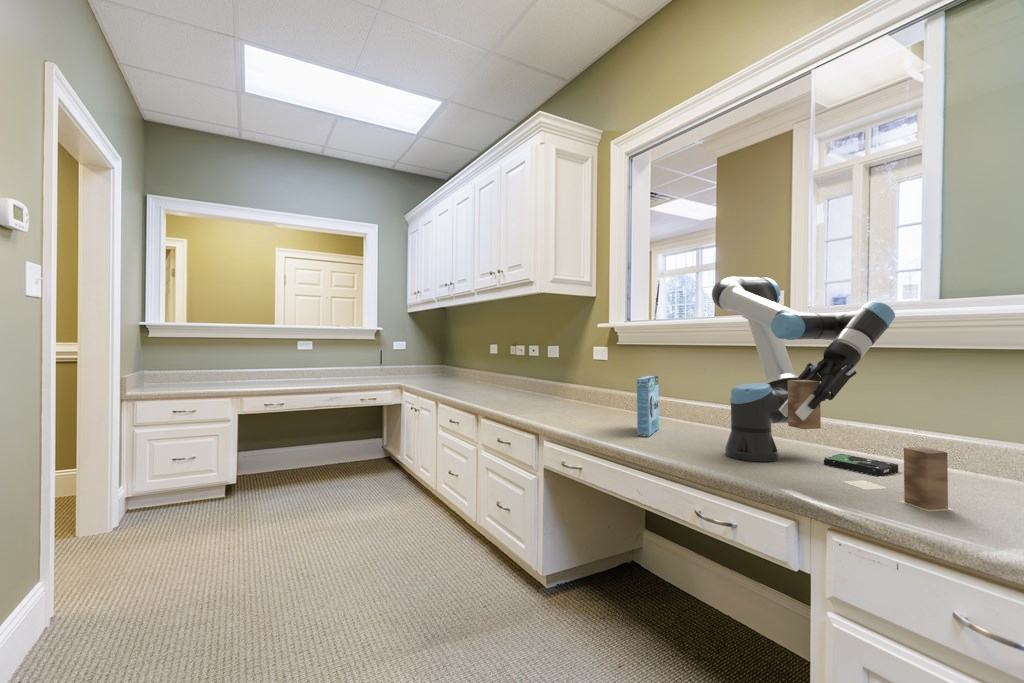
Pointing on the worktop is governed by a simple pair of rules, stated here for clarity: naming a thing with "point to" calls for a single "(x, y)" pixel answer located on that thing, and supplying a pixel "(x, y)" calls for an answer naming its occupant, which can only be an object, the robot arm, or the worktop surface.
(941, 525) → the worktop surface
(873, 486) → the board
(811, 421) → the post
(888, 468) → the disk drive
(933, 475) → the built post
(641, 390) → the light blue cardboard box
